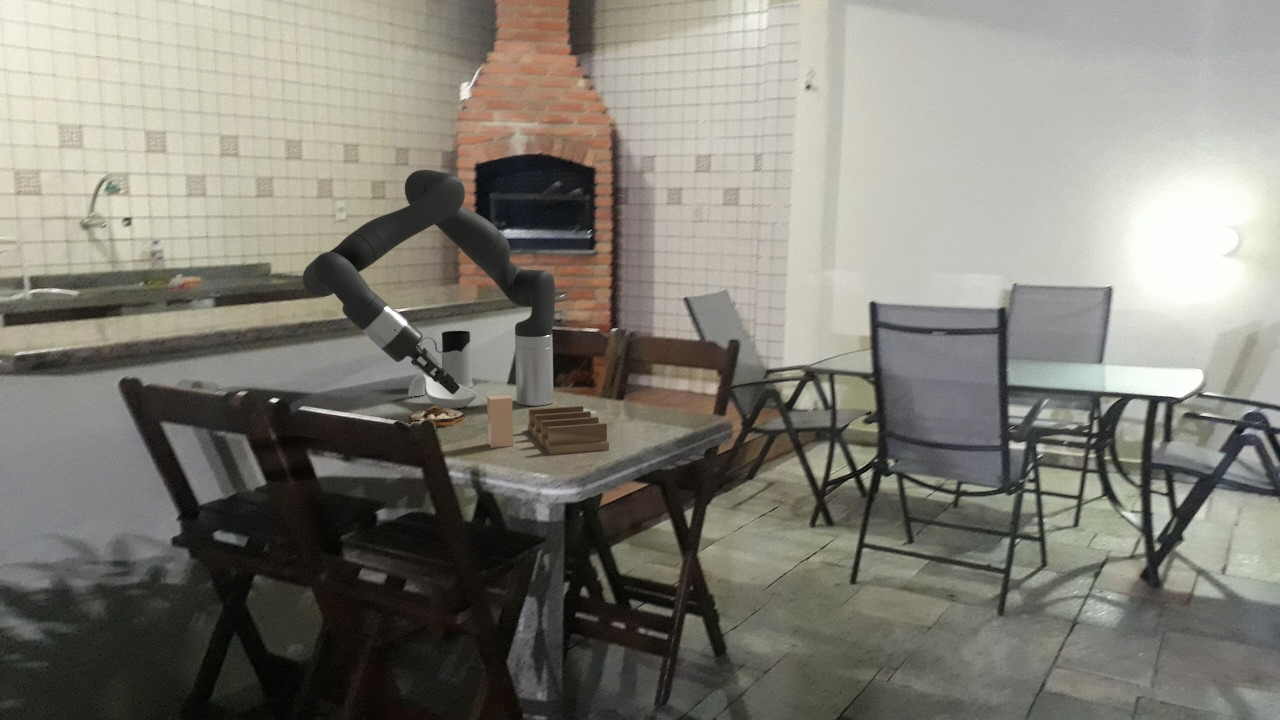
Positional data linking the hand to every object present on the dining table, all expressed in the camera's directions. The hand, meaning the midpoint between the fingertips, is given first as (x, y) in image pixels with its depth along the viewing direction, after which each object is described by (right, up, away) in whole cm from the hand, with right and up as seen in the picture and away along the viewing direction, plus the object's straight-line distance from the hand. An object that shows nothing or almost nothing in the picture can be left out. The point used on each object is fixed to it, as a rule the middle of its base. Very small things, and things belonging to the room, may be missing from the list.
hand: (453, 387), depth 189 cm
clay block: (+9, -12, +5) cm, 16 cm away
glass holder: (-15, -2, +69) cm, 70 cm away
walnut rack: (+22, -11, +9) cm, 26 cm away
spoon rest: (-13, -6, +46) cm, 49 cm away
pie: (-9, -9, +26) cm, 29 cm away
